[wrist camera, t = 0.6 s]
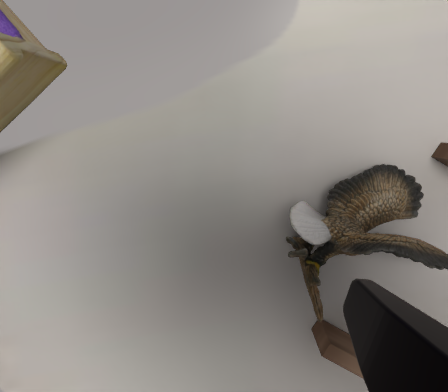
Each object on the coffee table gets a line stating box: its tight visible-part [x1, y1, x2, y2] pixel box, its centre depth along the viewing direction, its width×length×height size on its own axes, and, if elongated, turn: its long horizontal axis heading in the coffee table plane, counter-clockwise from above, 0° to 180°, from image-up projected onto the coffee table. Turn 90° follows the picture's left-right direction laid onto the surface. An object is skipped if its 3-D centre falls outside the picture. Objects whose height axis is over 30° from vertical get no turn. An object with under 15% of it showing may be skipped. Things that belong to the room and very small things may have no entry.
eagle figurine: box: [286, 164, 448, 322], centre depth 21 cm, size 8×7×9 cm
